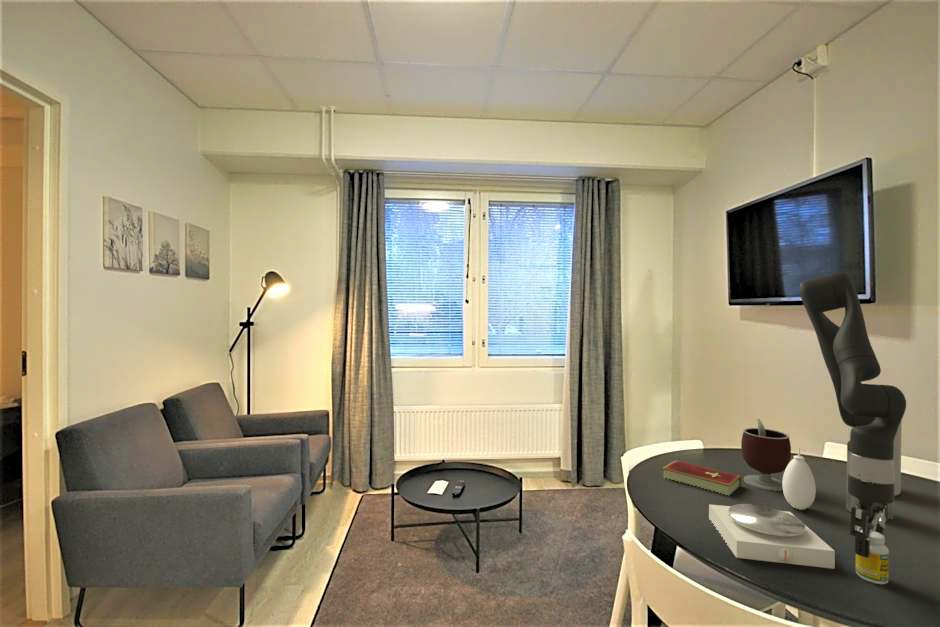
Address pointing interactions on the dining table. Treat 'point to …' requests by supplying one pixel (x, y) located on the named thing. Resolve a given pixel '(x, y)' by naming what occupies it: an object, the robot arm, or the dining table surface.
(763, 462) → the mate gourd
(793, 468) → the white rubber air blower
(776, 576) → the dining table surface
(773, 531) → the scale pan
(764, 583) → the dining table surface
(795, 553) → the scale base
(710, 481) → the hardcover book
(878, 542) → the supplement bottle
